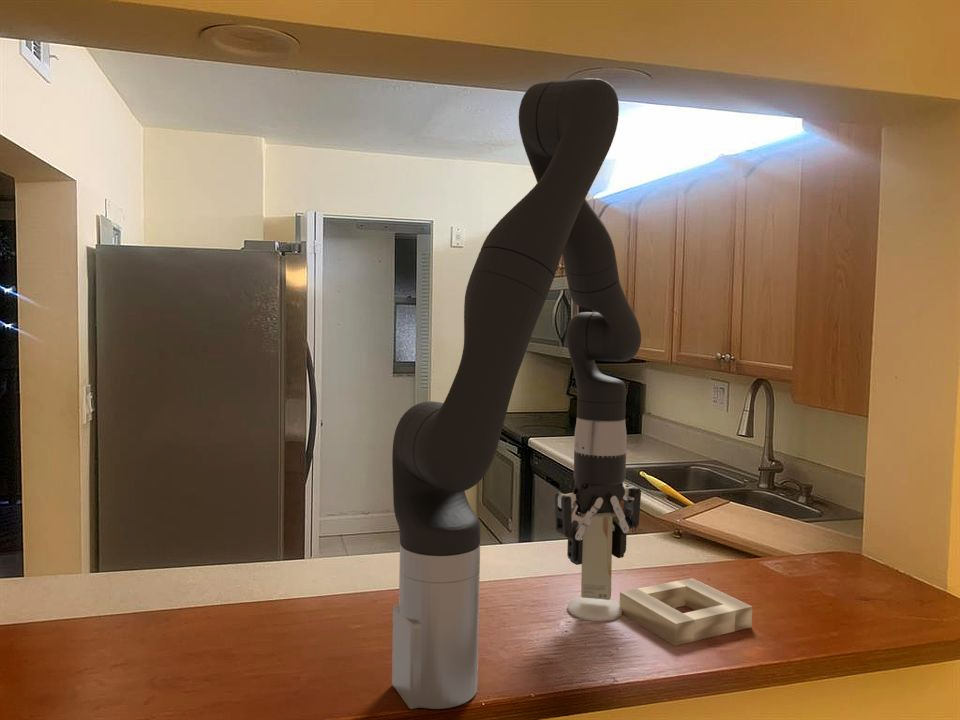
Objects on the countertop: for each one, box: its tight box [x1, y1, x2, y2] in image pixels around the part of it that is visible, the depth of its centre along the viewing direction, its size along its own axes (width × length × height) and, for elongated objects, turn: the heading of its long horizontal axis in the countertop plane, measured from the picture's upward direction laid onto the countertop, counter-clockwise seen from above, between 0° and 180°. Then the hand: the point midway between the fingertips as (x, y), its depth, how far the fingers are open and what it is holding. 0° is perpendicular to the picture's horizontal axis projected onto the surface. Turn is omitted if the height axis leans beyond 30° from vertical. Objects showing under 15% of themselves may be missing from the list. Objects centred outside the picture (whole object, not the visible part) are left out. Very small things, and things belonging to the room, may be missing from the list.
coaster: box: [567, 595, 623, 623], centre depth 106 cm, size 8×8×1 cm
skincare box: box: [580, 513, 613, 600], centre depth 105 cm, size 6×4×12 cm
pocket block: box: [619, 577, 753, 647], centre depth 103 cm, size 14×12×3 cm
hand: (597, 559), depth 105 cm, fingers closed on skincare box, 7 cm apart
